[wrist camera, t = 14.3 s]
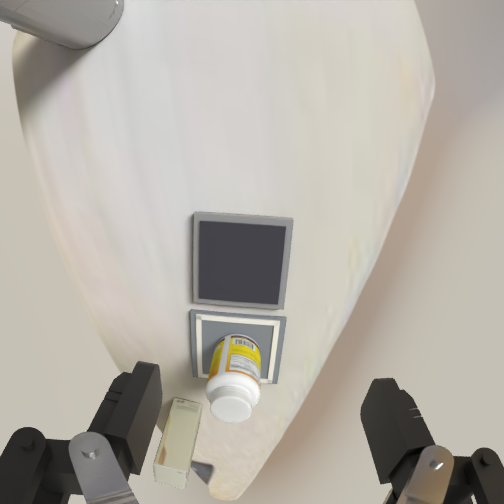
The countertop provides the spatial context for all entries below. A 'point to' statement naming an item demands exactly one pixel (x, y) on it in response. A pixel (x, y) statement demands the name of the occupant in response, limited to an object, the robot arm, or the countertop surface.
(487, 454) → the robot arm
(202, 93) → the countertop surface
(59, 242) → the countertop surface
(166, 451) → the skincare box
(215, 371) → the supplement bottle
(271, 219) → the ink pad
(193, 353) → the grey square pad
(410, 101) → the countertop surface
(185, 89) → the countertop surface
